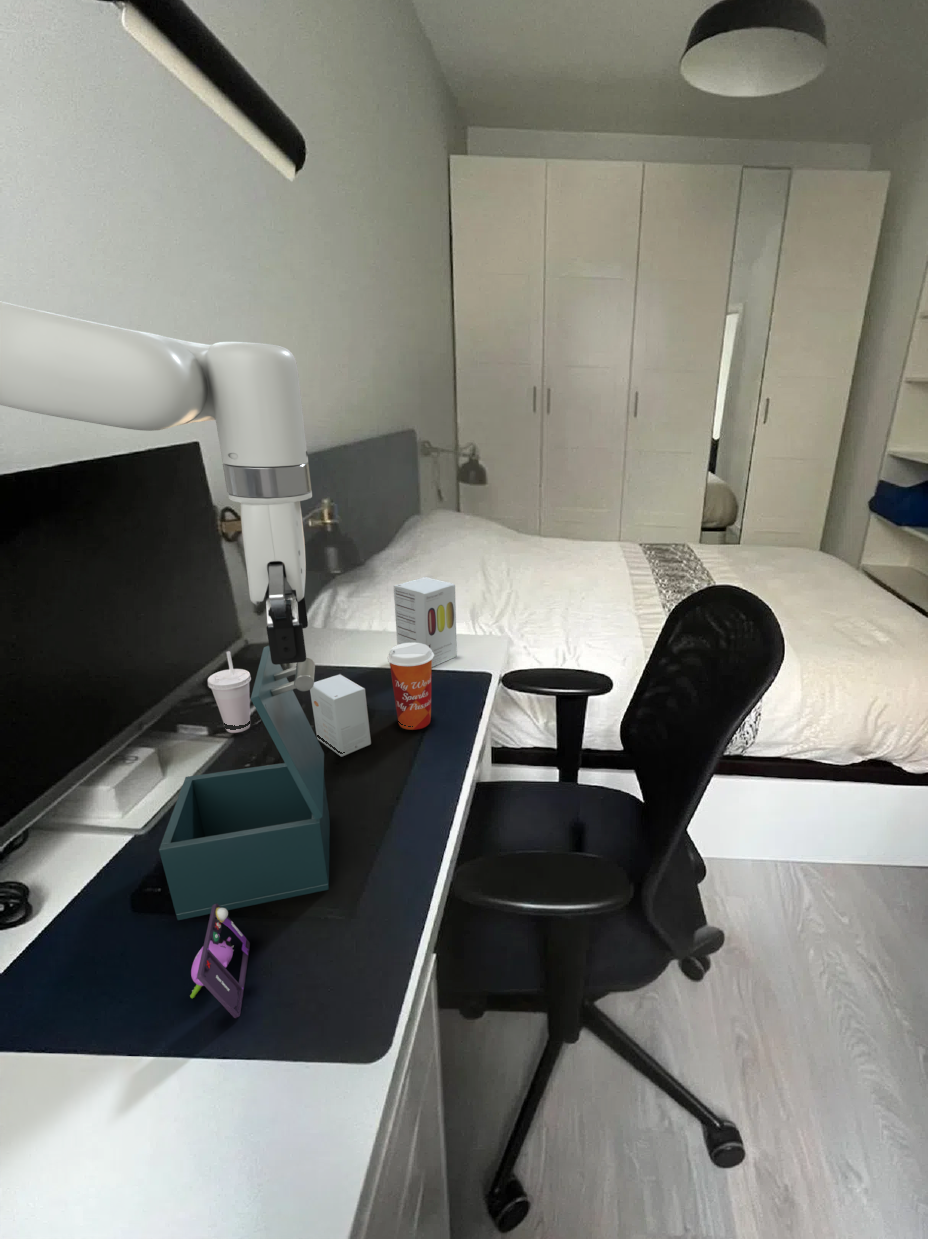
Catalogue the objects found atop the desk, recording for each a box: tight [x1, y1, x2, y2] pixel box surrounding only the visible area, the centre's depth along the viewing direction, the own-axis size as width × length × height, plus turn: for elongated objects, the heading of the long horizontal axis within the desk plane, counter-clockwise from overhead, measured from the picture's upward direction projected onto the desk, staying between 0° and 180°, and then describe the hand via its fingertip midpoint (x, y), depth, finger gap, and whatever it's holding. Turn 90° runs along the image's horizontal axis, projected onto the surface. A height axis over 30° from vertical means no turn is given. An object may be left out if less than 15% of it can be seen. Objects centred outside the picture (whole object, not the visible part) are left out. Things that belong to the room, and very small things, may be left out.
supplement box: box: [393, 576, 458, 668], centre depth 135 cm, size 10×9×17 cm
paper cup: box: [386, 643, 434, 731], centre depth 109 cm, size 8×8×14 cm
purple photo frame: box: [189, 903, 251, 1019], centre depth 61 cm, size 7×5×9 cm
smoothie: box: [207, 650, 252, 734], centre depth 105 cm, size 6×6×14 cm
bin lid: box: [250, 645, 325, 820], centre depth 74 cm, size 17×14×5 cm
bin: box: [158, 762, 331, 921], centre depth 76 cm, size 16×14×10 cm
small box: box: [309, 674, 372, 757], centre depth 103 cm, size 8×6×10 cm
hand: (291, 644), depth 68 cm, fingers open, 9 cm apart
